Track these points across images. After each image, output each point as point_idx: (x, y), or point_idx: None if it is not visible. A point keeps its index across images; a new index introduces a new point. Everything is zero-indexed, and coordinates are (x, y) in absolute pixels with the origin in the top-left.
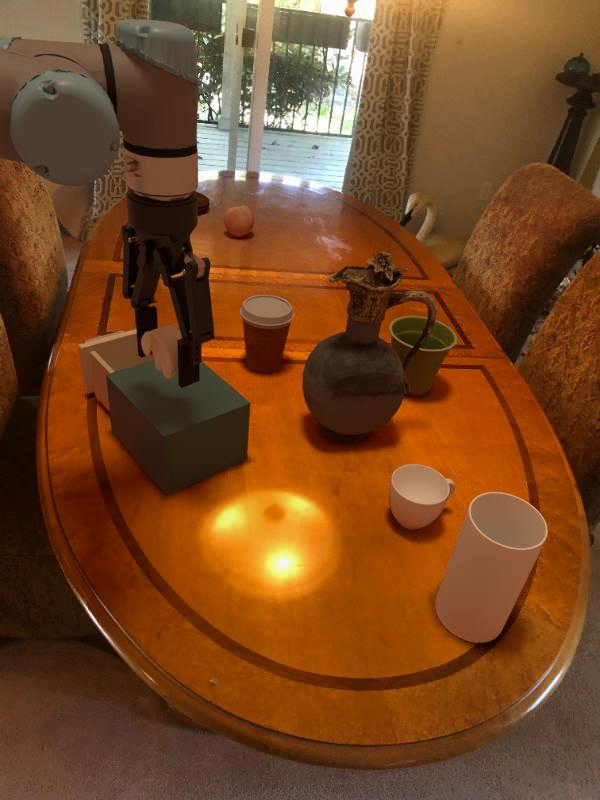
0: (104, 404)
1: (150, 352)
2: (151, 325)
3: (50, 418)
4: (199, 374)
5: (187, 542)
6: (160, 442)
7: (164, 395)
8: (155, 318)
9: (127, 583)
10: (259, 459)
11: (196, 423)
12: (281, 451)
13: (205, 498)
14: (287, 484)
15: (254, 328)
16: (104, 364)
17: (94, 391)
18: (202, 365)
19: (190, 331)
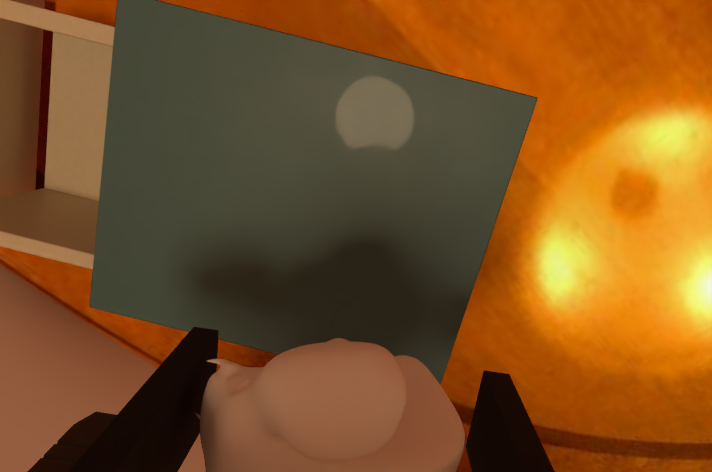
0: None
1: (212, 373)
2: (149, 459)
3: (63, 296)
4: (517, 393)
5: (532, 356)
6: None
7: (294, 265)
8: (130, 464)
9: None
10: (504, 77)
11: (466, 300)
12: (533, 8)
13: (486, 257)
14: (612, 101)
15: None
16: (22, 246)
17: (34, 184)
18: (243, 39)
19: (398, 424)
